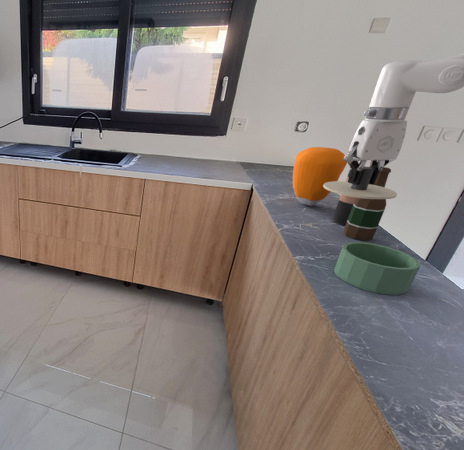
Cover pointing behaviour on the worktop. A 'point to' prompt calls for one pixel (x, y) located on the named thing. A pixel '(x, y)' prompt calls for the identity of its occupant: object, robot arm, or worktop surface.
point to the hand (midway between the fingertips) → (360, 182)
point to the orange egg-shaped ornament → (316, 173)
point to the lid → (361, 188)
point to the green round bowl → (376, 268)
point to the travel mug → (343, 207)
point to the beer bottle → (367, 213)
